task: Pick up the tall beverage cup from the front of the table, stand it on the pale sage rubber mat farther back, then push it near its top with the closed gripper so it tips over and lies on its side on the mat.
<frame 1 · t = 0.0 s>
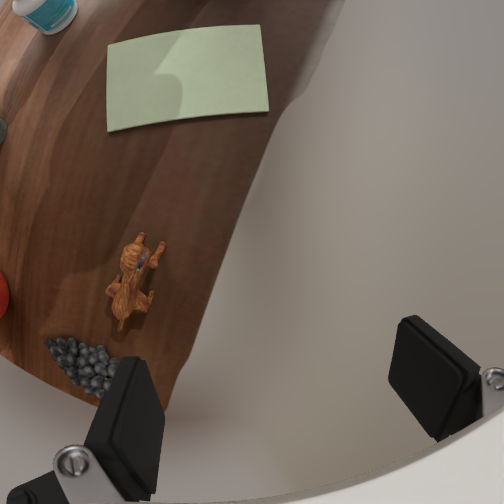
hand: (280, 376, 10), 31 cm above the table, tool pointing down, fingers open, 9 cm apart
mat: (183, 72, 33), on the table
cat figurine: (137, 279, 40), on the table
fruit: (88, 349, 42), on the table
pill bottle: (60, 18, 27), on the table
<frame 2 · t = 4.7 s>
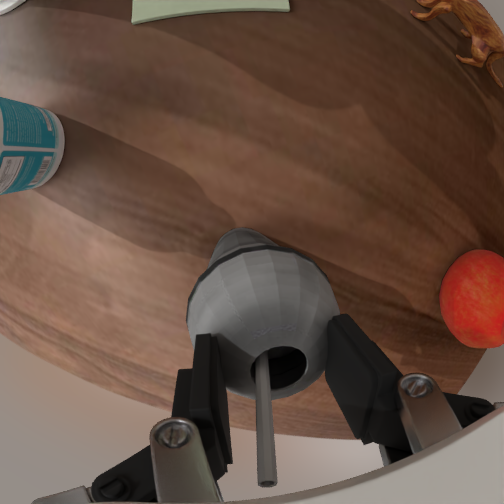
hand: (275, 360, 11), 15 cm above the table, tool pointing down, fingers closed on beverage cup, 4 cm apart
beverage cup: (241, 253, 25), on the table, touching gripper
apple: (459, 284, 29), on the table
cat figurine: (453, 42, 21), on the table
pill bottle: (37, 149, 20), on the table
when the fingers open (15 cm above the table, at t = 11.7 s): beverage cup stays where it is, resting on mat.
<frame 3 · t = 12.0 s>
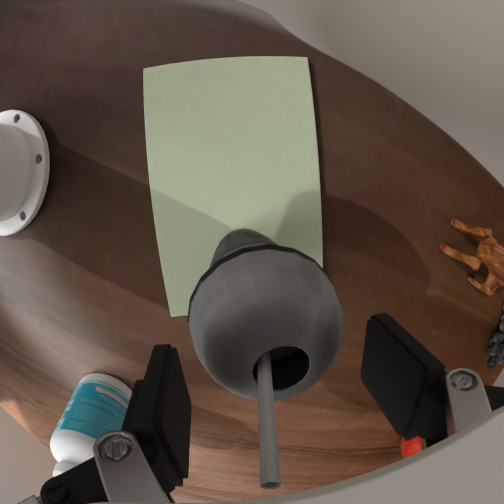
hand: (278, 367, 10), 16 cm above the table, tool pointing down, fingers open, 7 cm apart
mat: (235, 183, 24), on the table
beverage cup: (243, 254, 25), resting on mat
apple: (419, 426, 37), on the table
cat figurine: (471, 256, 29), on the table
fruit: (499, 320, 33), on the table
pill bottle: (109, 393, 28), on the table
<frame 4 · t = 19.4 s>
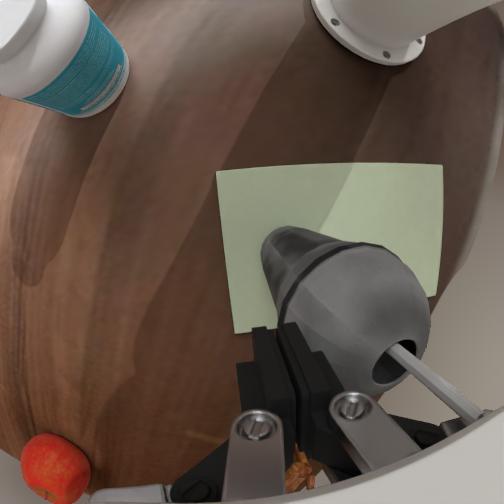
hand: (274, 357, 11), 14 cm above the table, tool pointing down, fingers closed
mat: (349, 242, 25), on the table
beverage cup: (286, 252, 24), point 1 cm above the table, touching gripper, mat
apple: (63, 447, 29), on the table
cat figurine: (264, 456, 32), on the table
pill bottle: (93, 80, 19), on the table
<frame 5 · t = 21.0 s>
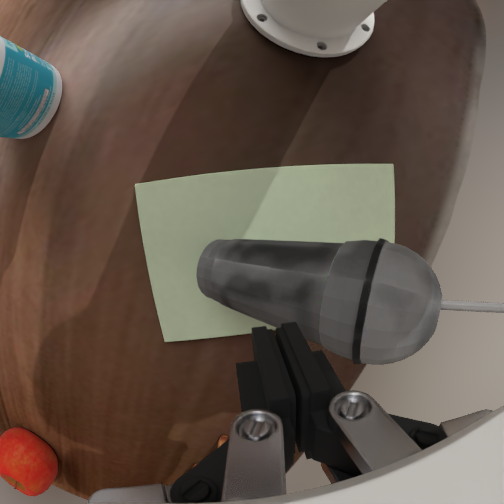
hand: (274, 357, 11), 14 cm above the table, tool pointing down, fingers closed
mat: (279, 252, 25), on the table
beverage cup: (215, 268, 22), point 2 cm above the table, touching mat
apple: (34, 442, 29), on the table
pill bottle: (35, 101, 18), on the table
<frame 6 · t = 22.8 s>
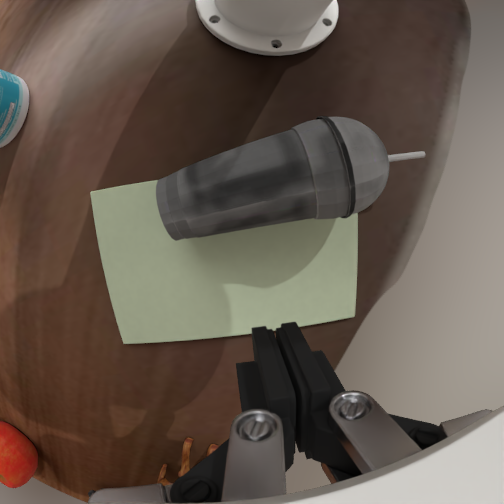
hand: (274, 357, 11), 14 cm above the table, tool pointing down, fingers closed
mat: (231, 258, 24), on the table
beverage cup: (166, 210, 20), point 3 cm above the table, touching mat
apple: (17, 436, 28), on the table
cat figurine: (185, 464, 31), on the table
pill bottle: (7, 112, 18), on the table
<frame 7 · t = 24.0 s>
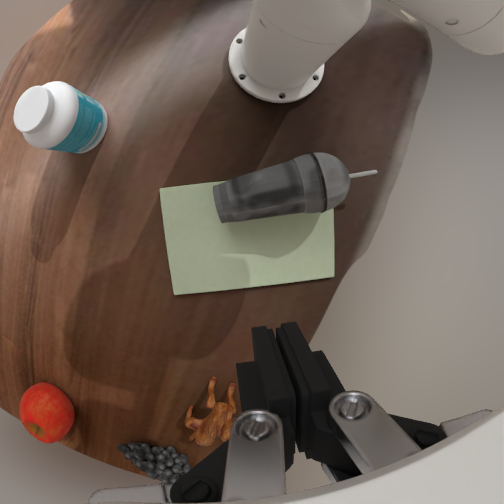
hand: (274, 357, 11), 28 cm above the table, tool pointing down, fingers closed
mat: (251, 233, 38), on the table
beverage cup: (216, 204, 33), point 3 cm above the table, touching mat
apple: (55, 397, 41), on the table
cat figurine: (207, 406, 44), on the table
fruit: (156, 447, 46), on the table
pill bottle: (85, 127, 32), on the table
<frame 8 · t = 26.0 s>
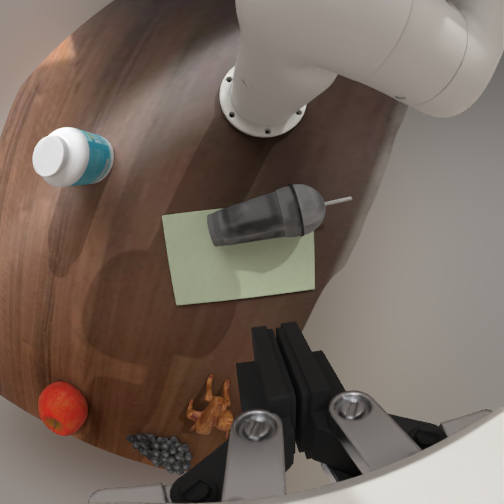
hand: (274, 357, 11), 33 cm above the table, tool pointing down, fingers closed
mat: (242, 253, 44), on the table
beverage cup: (210, 230, 40), point 3 cm above the table, touching mat
apple: (70, 394, 48), on the table
cat figurine: (206, 400, 51), on the table
fruit: (161, 437, 53), on the table
pill bottle: (94, 159, 38), on the table
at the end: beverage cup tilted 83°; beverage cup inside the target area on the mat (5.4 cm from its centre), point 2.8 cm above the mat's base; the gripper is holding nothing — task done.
